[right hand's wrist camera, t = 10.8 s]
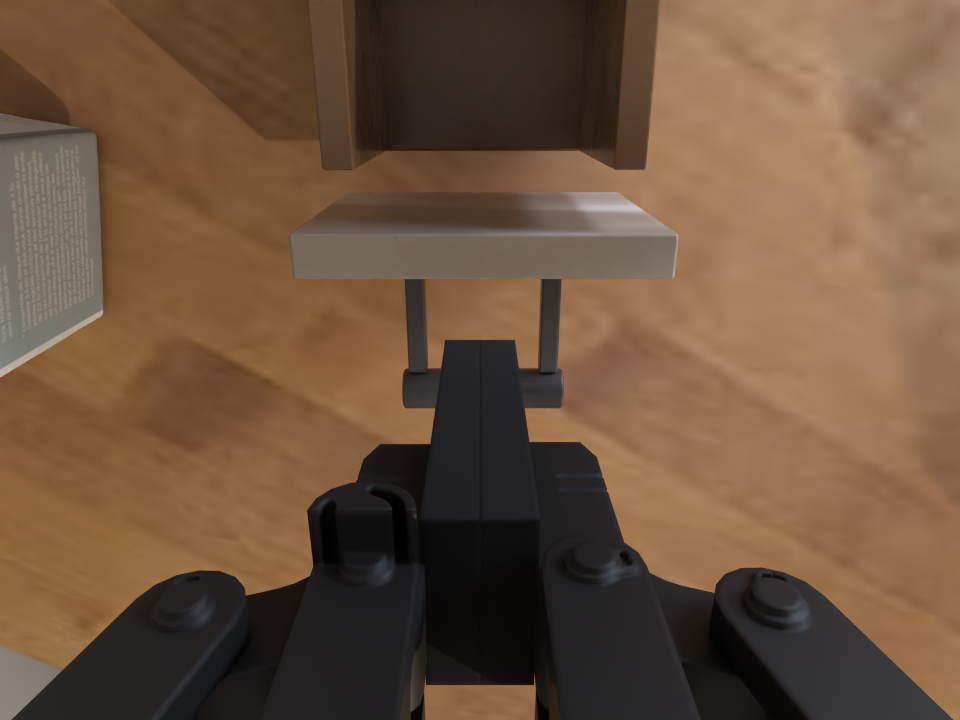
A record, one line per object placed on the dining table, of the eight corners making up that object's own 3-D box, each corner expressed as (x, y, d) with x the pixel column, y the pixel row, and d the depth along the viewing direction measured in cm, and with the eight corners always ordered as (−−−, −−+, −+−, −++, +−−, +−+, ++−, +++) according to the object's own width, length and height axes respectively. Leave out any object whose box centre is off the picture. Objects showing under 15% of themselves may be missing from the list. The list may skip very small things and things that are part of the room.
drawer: (606, 358, 27) (655, 459, 19) (358, 359, 27) (311, 460, 19) (669, -496, 18) (808, -930, 10) (296, -495, 18) (162, -929, 10)
